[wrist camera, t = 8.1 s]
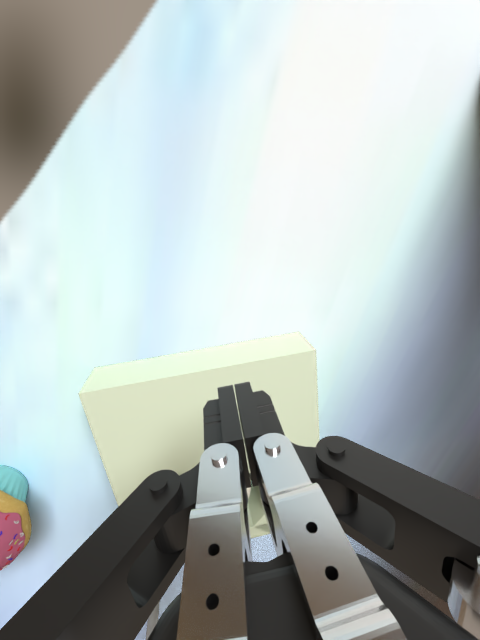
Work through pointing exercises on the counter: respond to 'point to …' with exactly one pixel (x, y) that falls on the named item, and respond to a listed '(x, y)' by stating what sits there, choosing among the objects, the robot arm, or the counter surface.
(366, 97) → the counter surface
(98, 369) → the board
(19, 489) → the cupcake
